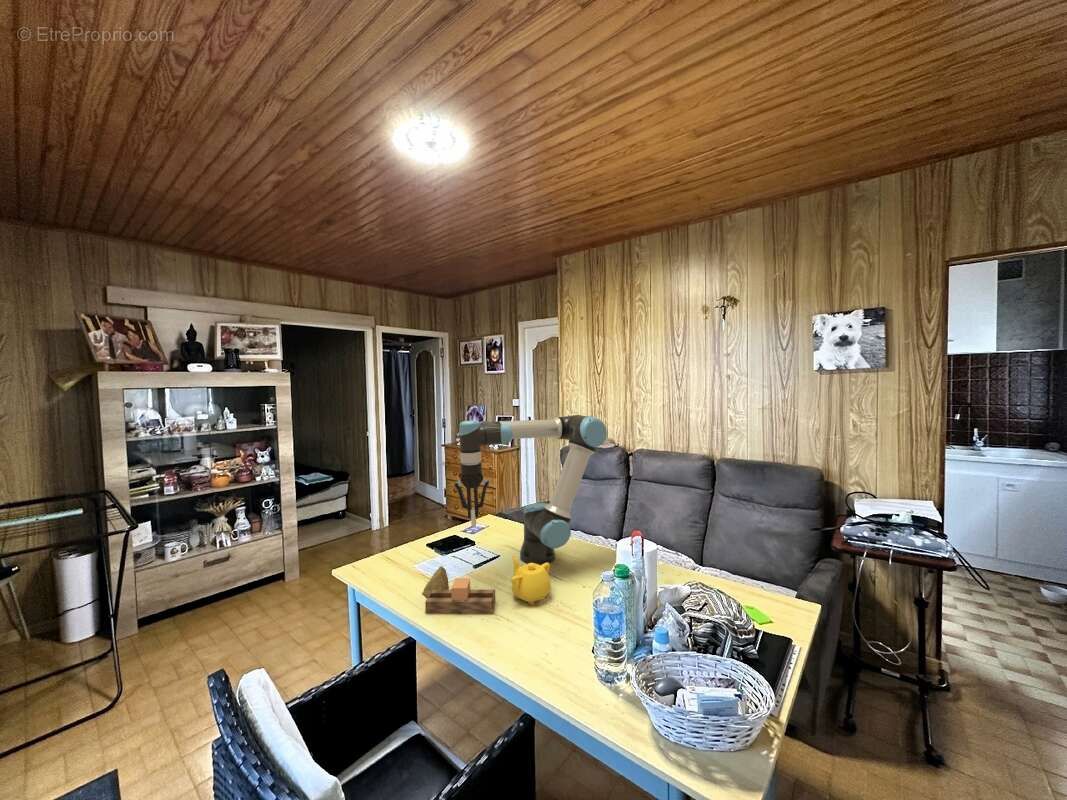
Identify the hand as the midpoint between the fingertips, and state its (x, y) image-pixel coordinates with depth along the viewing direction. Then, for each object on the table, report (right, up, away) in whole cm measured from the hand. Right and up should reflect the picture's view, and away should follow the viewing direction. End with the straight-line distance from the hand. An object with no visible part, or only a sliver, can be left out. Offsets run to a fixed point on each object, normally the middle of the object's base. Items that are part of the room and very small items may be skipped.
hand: (473, 525), depth 155 cm
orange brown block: (-2, -21, -15) cm, 26 cm away
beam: (-2, -23, -15) cm, 27 cm away
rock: (-12, -23, -9) cm, 27 cm away
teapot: (+20, -23, -7) cm, 31 cm away
